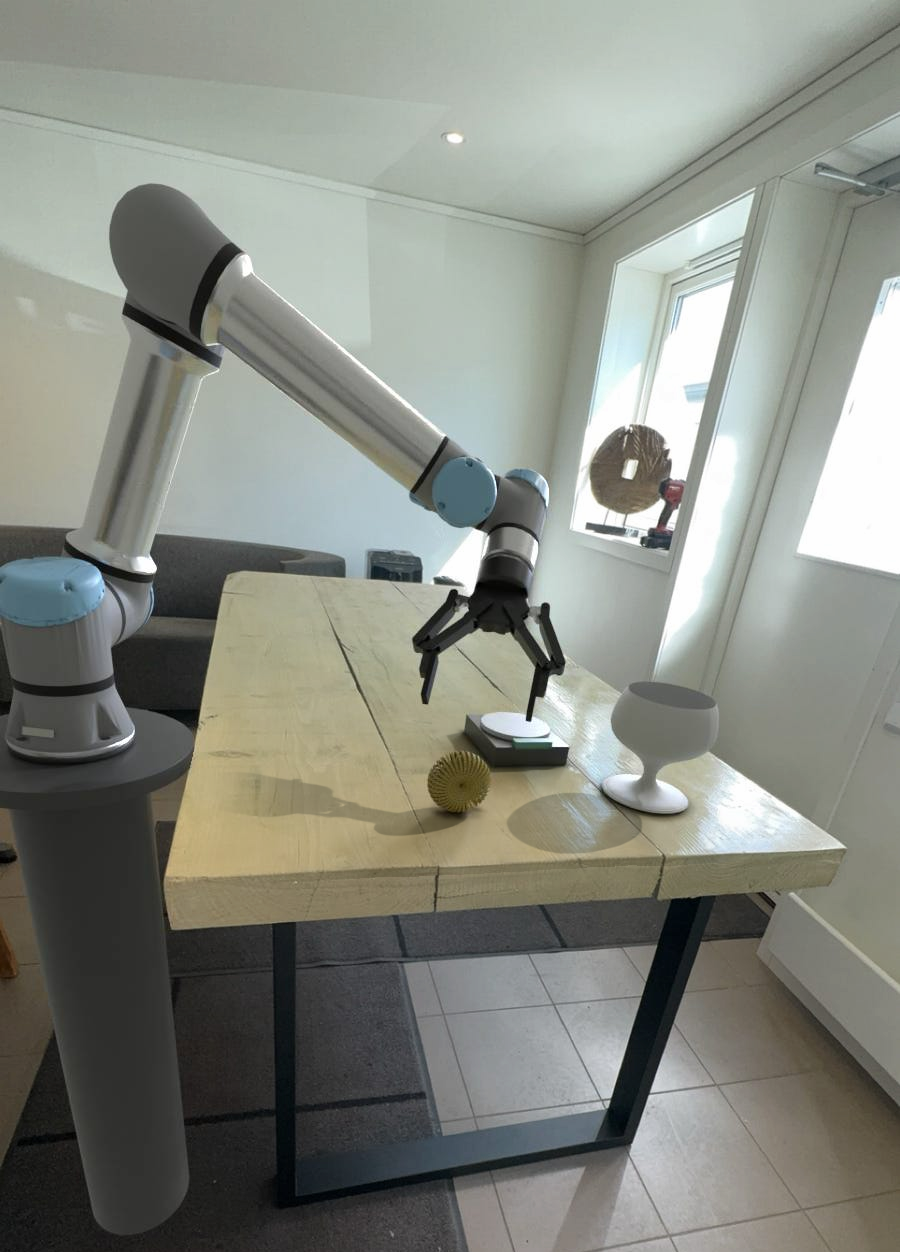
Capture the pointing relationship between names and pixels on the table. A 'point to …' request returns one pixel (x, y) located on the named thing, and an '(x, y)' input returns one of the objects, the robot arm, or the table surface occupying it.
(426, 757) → the table surface
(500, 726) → the scale
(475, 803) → the sculpture
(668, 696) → the chalice
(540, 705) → the table surface
